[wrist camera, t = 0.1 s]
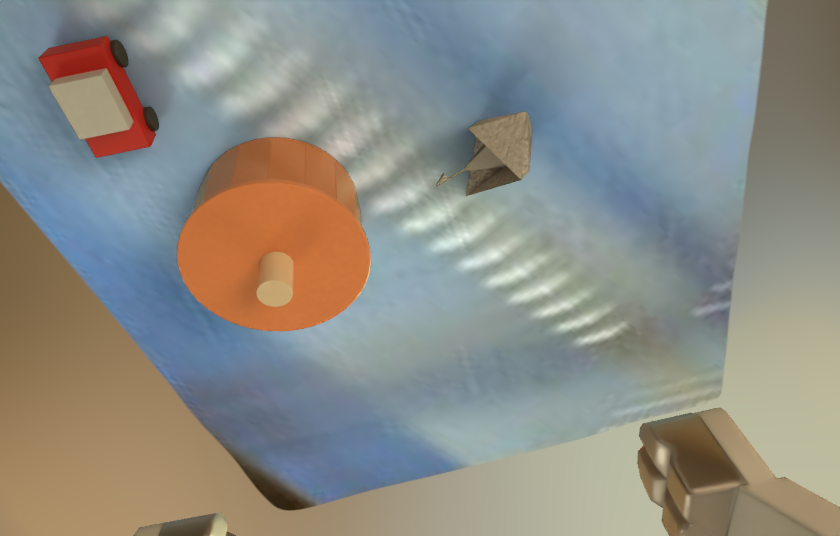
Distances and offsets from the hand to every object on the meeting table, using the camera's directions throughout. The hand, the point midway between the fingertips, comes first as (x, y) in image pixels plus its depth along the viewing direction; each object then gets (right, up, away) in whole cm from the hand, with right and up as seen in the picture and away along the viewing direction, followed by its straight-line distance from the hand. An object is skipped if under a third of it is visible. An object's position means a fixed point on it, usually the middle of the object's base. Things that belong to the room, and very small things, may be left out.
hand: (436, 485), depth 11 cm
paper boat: (+5, +16, +39) cm, 42 cm away
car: (-23, +17, +32) cm, 43 cm away
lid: (-11, +5, +35) cm, 37 cm away
